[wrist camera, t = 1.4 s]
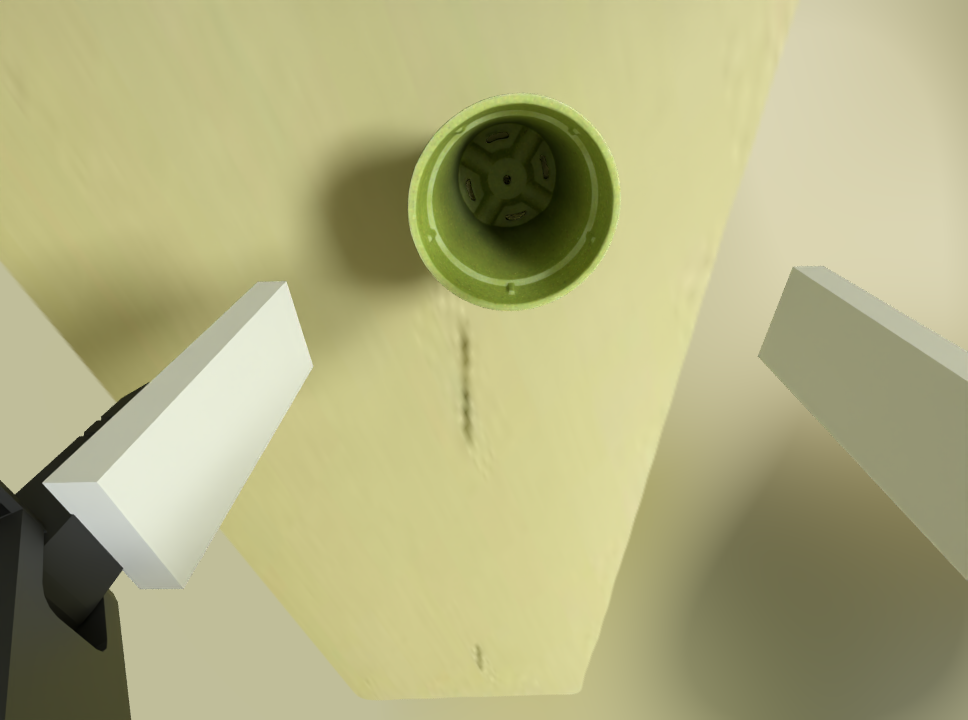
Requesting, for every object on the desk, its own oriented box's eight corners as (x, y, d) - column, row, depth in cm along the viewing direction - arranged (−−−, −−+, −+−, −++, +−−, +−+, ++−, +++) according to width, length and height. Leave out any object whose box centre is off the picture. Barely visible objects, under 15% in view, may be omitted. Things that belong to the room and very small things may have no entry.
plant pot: (404, 119, 25) (370, 142, 17) (566, 57, 23) (602, 54, 16) (459, 267, 30) (450, 331, 22) (596, 225, 28) (633, 280, 21)
